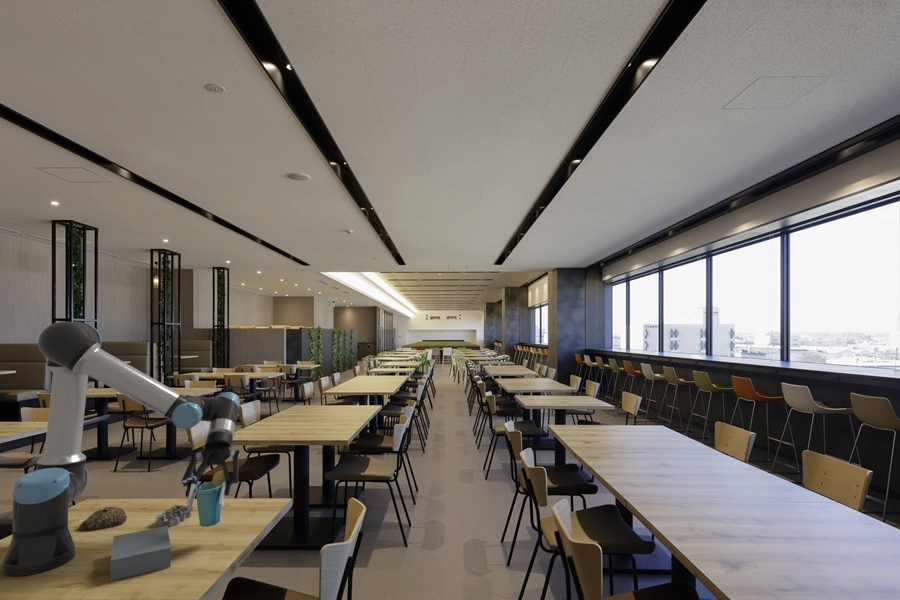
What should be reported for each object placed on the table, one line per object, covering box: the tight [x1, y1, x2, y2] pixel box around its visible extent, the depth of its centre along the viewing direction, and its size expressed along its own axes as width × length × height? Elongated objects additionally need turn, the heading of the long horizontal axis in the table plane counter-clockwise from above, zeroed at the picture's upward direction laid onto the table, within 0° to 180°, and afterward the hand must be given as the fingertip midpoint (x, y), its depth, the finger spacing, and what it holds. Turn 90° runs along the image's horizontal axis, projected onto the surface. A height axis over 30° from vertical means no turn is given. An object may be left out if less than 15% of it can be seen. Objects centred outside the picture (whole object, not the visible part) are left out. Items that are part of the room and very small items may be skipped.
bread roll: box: [78, 506, 128, 532], centre depth 162 cm, size 13×12×5 cm
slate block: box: [110, 525, 172, 582], centre depth 134 cm, size 13×17×5 cm
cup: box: [181, 470, 232, 528], centre depth 144 cm, size 14×8×15 cm, turn 149°
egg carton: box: [154, 504, 194, 528], centre depth 163 cm, size 11×8×4 cm
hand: (204, 506), depth 141 cm, fingers closed on cup, 8 cm apart
